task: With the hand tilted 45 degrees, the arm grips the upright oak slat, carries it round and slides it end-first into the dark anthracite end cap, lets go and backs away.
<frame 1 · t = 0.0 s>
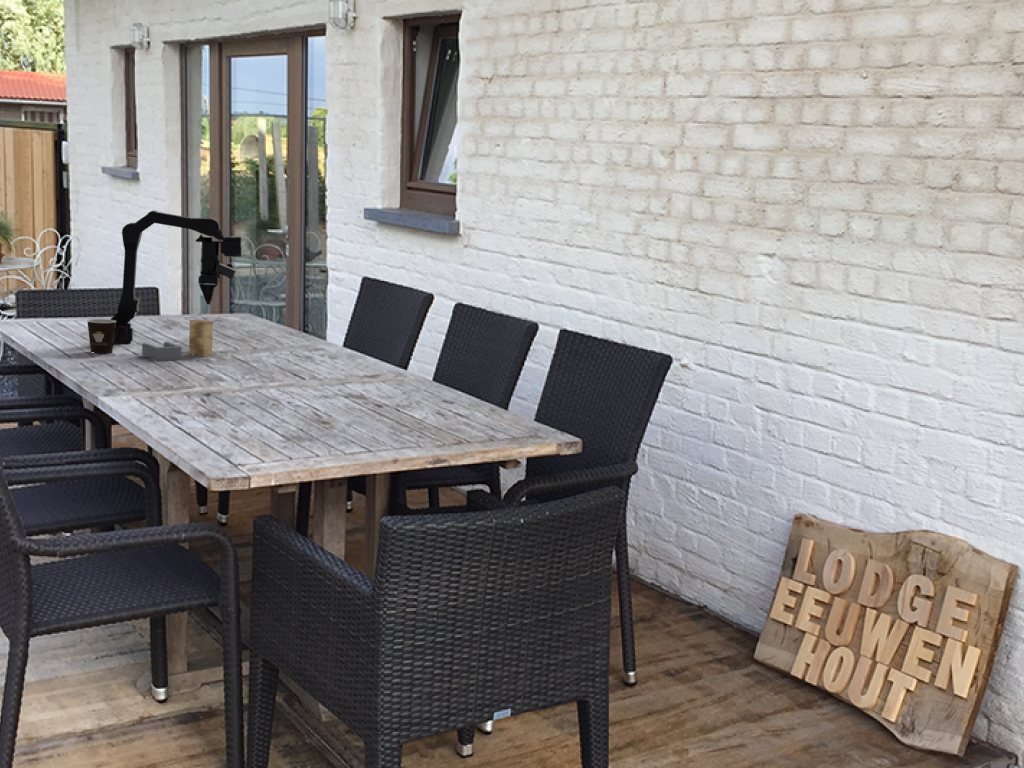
hand: (209, 302, 405), 15 cm above the table, tool pointing down, fingers open, 9 cm apart
slat: (200, 354, 389), on the table
coffee mug: (105, 353, 381), on the table
end cap: (160, 357, 380), on the table
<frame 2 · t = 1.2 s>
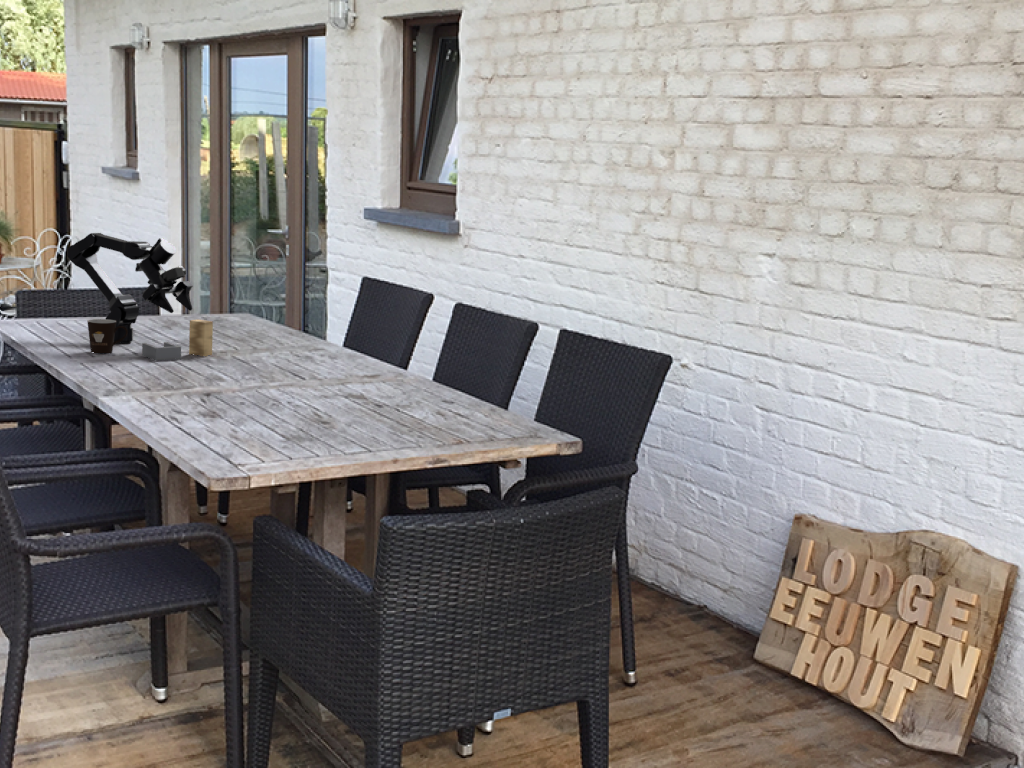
hand: (182, 311, 390), 13 cm above the table, tool tilted 45°, fingers open, 9 cm apart
nothing on the table moved.
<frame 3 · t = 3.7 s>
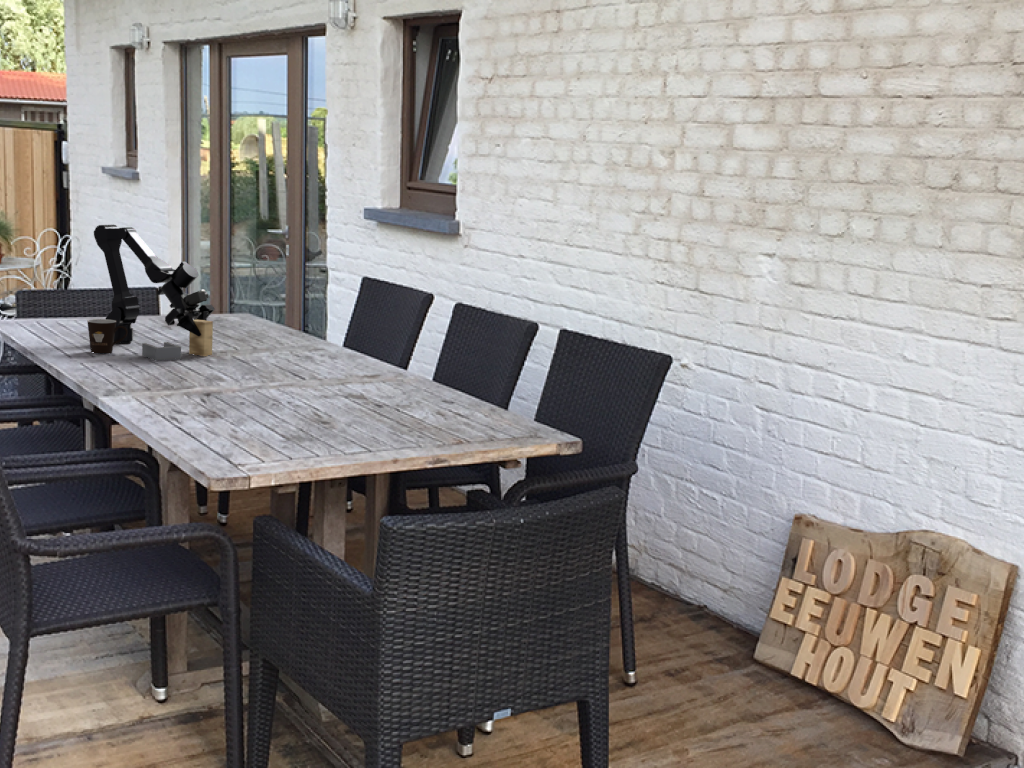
hand: (204, 334, 388), 7 cm above the table, tool tilted 45°, fingers closed on slat, 4 cm apart
slat: (200, 354, 389), on the table, touching gripper
everything else where it was.
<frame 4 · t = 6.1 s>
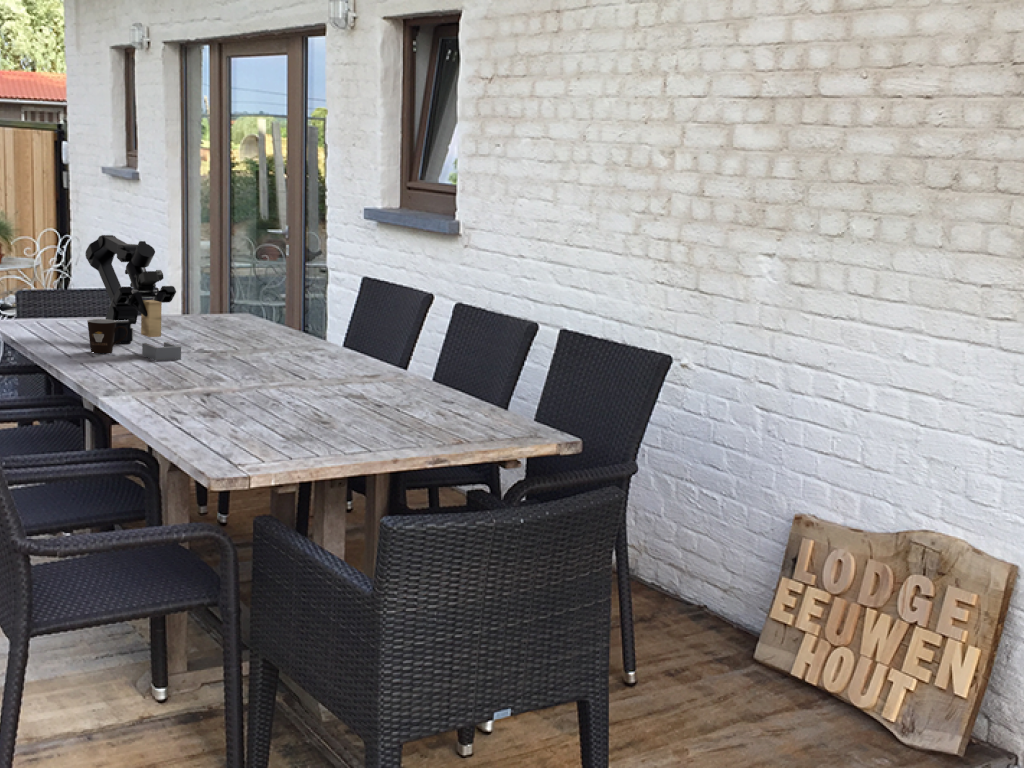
hand: (153, 315, 382), 12 cm above the table, tool tilted 45°, fingers closed on slat, 4 cm apart
slat: (151, 335, 384), point 6 cm above the table, touching gripper
everything else where it was.
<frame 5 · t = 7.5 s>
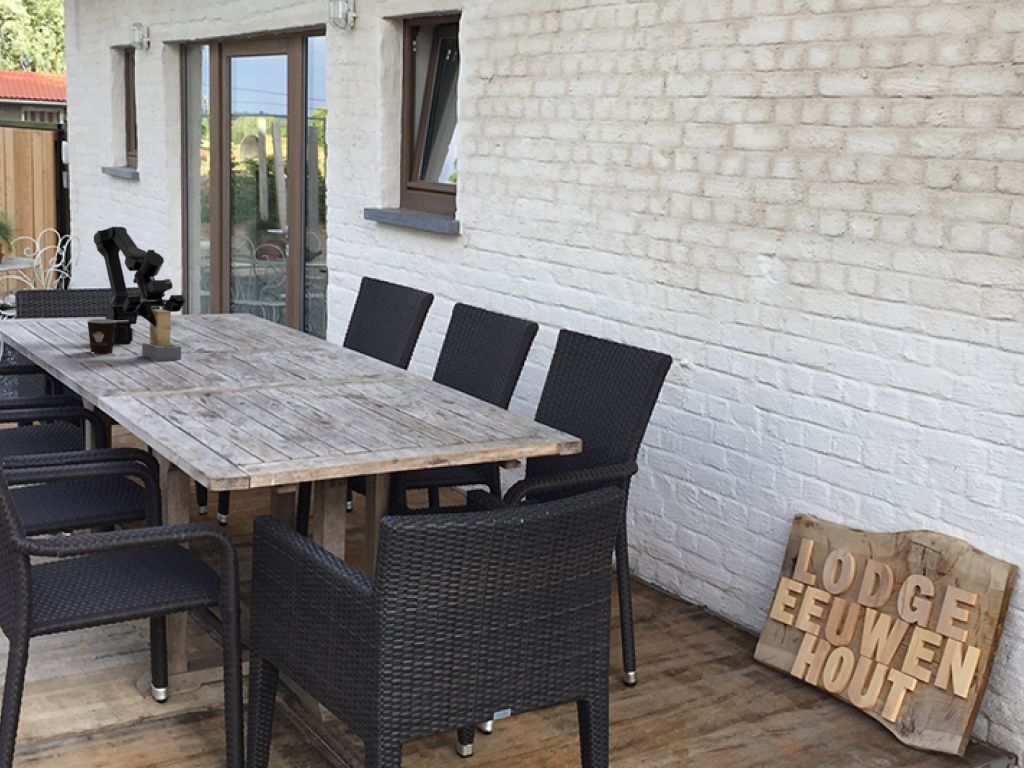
hand: (162, 325, 378), 10 cm above the table, tool tilted 45°, fingers closed on slat, 4 cm apart
slat: (159, 345, 380), point 4 cm above the table, touching gripper
everything else where it was.
when the fingers open (8 cm above the table, at t = 8.5 s): slat stays where it is, resting on end cap.
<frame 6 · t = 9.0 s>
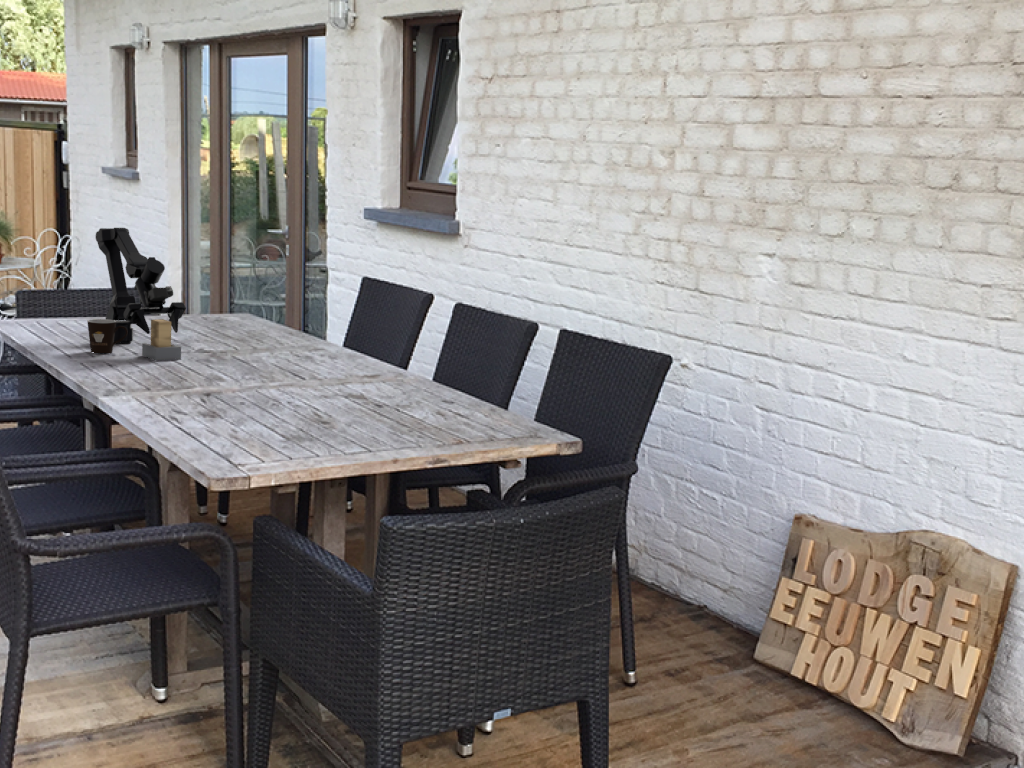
hand: (162, 332, 377), 8 cm above the table, tool tilted 45°, fingers open, 9 cm apart
slat: (160, 355, 380), point 1 cm above the table, touching end cap
everything else where it was.
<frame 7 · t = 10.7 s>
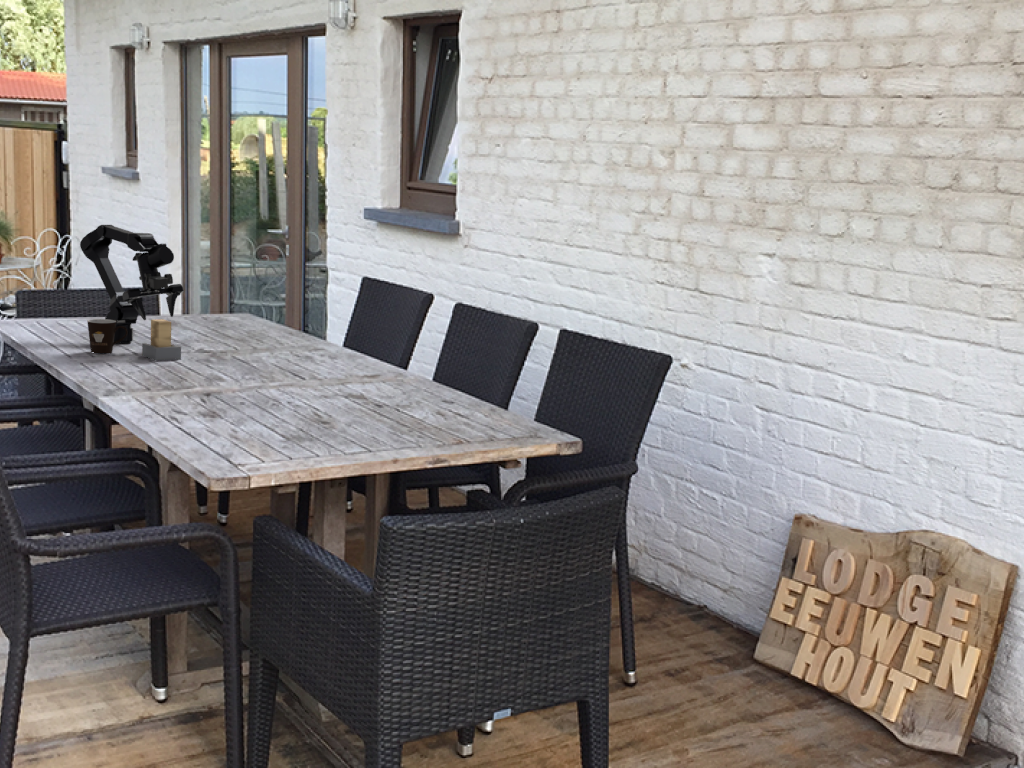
hand: (158, 318, 390), 10 cm above the table, tool tilted 20°, fingers open, 9 cm apart
nothing on the table moved.
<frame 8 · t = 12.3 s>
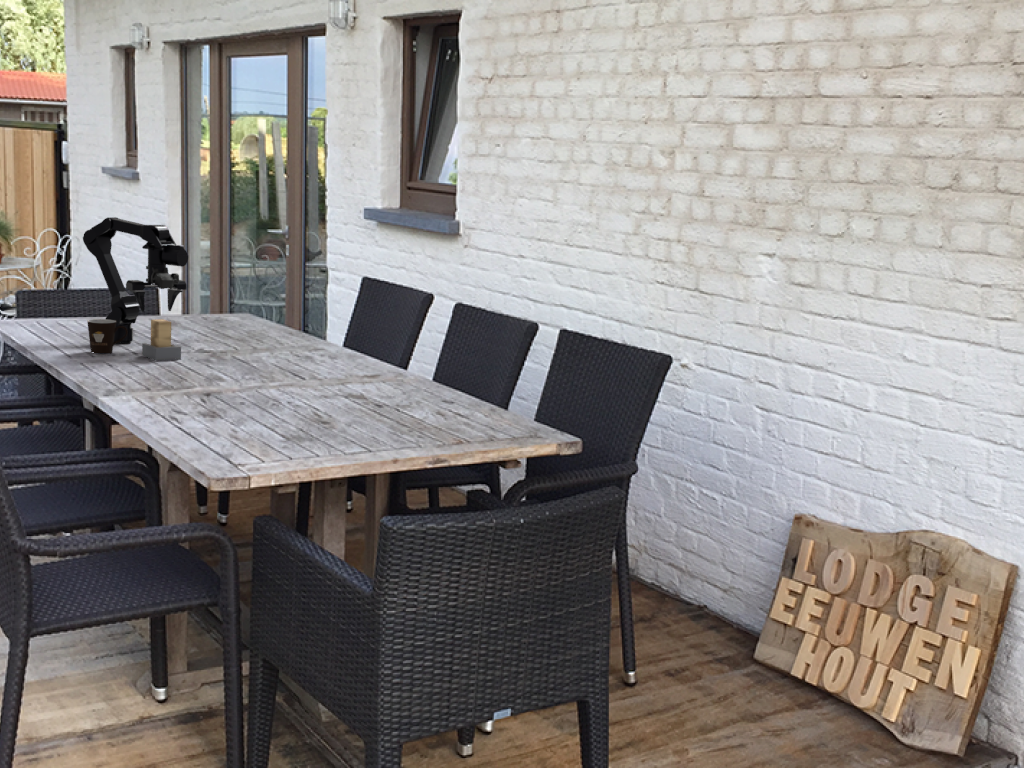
hand: (156, 311, 395), 12 cm above the table, tool pointing down, fingers open, 9 cm apart
nothing on the table moved.
at the end: slat 0.0 cm from the end cap (horizontally); slat tilted 0°; slat point 0.6 cm above the table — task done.
